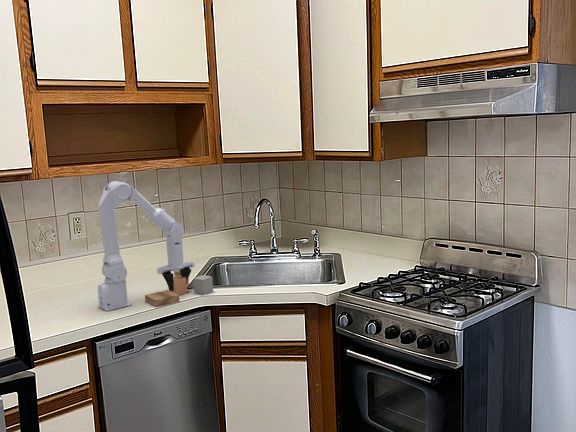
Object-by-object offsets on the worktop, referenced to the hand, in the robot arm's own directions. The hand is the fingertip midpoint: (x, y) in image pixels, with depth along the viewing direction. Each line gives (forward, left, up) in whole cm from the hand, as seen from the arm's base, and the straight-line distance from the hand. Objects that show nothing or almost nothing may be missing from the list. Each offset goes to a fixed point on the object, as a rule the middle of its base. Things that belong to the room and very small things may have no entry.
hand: (177, 288), depth 218 cm
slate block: (+7, -7, -2) cm, 10 cm away
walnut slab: (-9, -6, -2) cm, 11 cm away
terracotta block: (0, 0, -2) cm, 2 cm away
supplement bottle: (+6, +8, -2) cm, 10 cm away
